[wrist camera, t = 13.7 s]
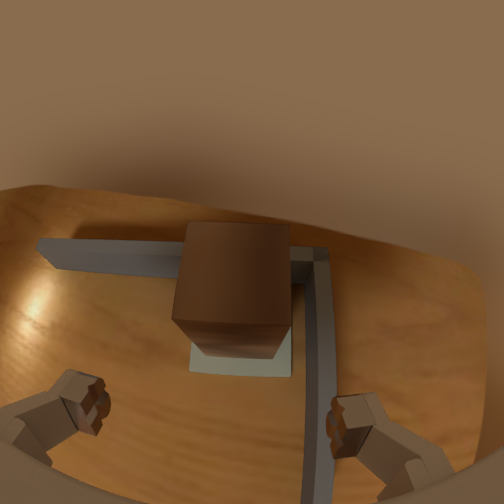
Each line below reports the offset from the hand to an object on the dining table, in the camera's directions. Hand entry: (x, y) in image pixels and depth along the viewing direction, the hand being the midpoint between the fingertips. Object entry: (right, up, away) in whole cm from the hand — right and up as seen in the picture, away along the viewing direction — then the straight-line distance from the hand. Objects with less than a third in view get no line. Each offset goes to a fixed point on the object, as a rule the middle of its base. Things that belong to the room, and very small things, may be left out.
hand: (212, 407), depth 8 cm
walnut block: (0, -1, +13) cm, 13 cm away
